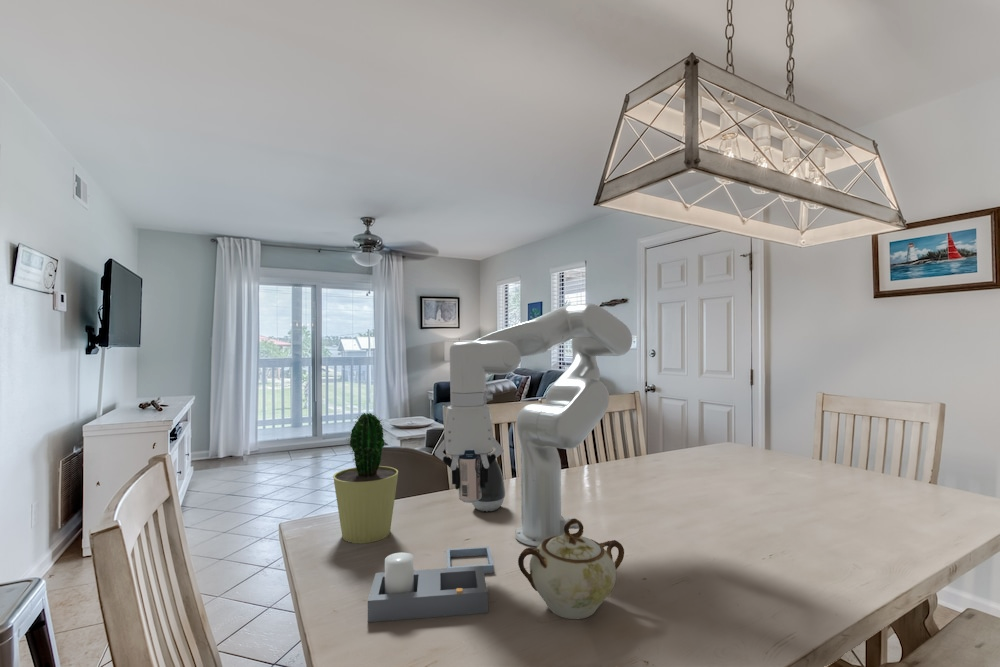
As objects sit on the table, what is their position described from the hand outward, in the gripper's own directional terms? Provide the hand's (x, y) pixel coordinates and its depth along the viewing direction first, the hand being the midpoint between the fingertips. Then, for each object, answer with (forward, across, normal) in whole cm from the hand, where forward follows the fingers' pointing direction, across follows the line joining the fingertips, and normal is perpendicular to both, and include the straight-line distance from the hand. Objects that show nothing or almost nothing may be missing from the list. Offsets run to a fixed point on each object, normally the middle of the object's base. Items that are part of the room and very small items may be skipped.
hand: (470, 485), depth 102 cm
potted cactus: (+16, +24, -20) cm, 35 cm away
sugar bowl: (+16, -16, +19) cm, 30 cm away
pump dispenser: (+17, -6, -34) cm, 38 cm away
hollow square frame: (+16, 0, 0) cm, 16 cm away
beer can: (+3, 0, 0) cm, 3 cm away
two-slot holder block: (+16, +8, +14) cm, 23 cm away
